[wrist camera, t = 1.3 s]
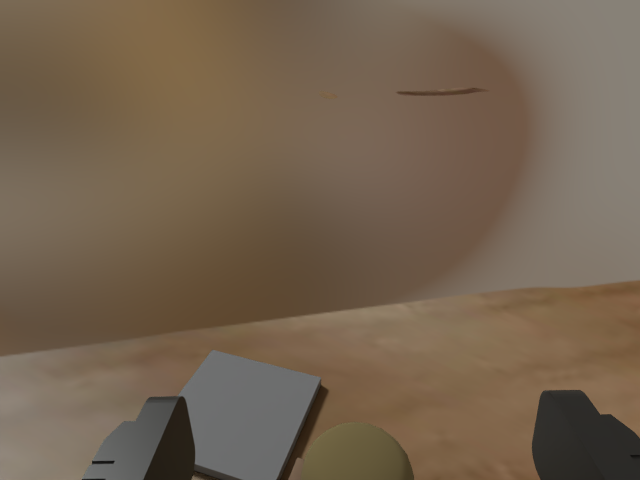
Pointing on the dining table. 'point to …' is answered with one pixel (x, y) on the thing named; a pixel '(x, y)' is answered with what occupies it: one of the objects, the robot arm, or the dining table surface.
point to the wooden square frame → (297, 470)
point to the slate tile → (246, 416)
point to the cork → (356, 455)
